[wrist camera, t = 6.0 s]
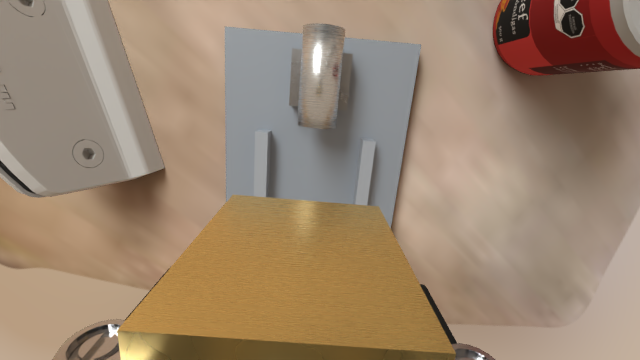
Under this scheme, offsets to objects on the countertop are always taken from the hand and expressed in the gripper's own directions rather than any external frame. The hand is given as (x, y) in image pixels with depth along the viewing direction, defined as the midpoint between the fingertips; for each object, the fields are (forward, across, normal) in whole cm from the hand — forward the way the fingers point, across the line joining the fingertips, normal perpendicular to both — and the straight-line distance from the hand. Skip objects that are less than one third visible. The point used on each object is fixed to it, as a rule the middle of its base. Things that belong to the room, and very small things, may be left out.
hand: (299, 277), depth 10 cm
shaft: (+17, 0, -7) cm, 19 cm away
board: (+17, 0, 0) cm, 17 cm away
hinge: (+18, +19, -5) cm, 27 cm away
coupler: (+1, 0, 0) cm, 1 cm away
